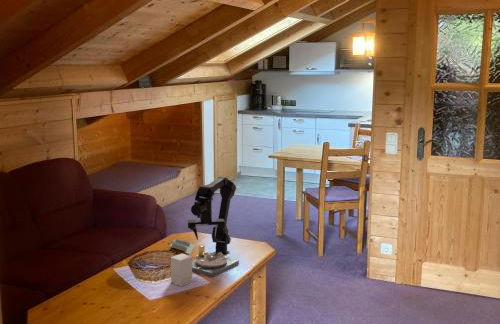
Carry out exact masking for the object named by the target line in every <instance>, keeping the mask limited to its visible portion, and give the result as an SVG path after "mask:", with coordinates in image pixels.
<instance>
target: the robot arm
mask: <svg viewBox="0 0 500 324" xmlns="http://www.w3.org/2000/svg"><path fill="white" fill-rule="evenodd" d="M218 190H219V194H220V198H221V200H220V206H219V212H218V218H216V220H213V215H212V214H213V212H212V211H213V210H212V207H213V206H212V202H213V200H214V198H213V197H214V195H215V192H217V191H218ZM236 190H237V186H236V185H235V182H233V181H231V180H230V179H229V178H227V177H226V176H218V177H217V178H216V179H215V180H213V181H211V182H210V183H208V184H202V185H199V187H198V189H197V191H196V195H195V198H194V204H193V205H191V208H190V212H191V213H192V215H194V217H195V216H196V218H197V219H199V221H196V219H189V220H187V229H190V231H191V230H192V231H193V233H194V235H195V238H196V241H199V239H198V238H199V235H198V230H197V226H213V228H212V233H211V239H212V243H215V251H214V252H213V253H218V252H222V254H223V255H225V256H226V255H227V254H230V251H228V245H230V244H231V241H232V238H231V237H230V235H229V230H228V227H227V222H228V216H229V210H230V205H231V204H230V203H231V199H232V198H233V197H234V196H235V193H236Z"/></svg>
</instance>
